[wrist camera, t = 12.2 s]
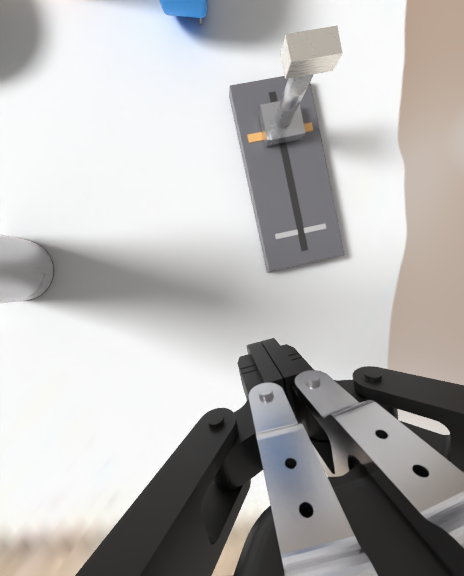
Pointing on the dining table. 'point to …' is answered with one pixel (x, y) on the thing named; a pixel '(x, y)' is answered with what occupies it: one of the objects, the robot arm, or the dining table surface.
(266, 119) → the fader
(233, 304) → the dining table surface
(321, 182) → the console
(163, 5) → the alarm clock
